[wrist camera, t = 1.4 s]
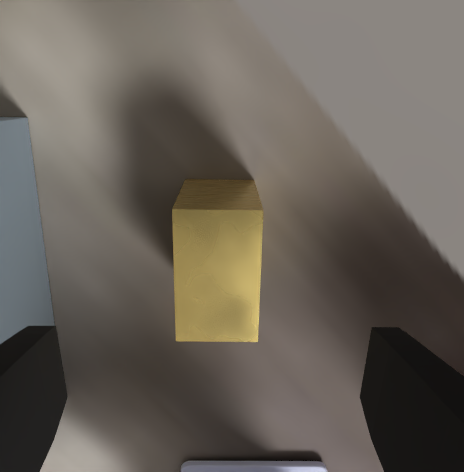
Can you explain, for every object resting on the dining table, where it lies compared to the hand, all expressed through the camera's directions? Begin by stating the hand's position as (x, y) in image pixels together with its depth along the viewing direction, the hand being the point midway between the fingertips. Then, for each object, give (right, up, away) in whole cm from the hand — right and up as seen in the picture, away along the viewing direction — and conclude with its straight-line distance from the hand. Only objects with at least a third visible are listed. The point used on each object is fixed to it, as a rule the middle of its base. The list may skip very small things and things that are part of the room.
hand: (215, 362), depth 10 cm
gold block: (0, +3, +10) cm, 10 cm away
